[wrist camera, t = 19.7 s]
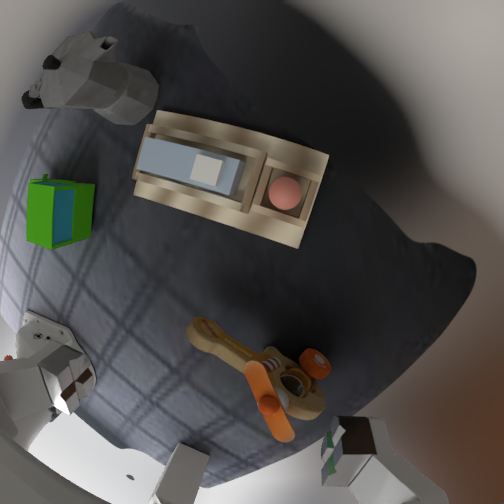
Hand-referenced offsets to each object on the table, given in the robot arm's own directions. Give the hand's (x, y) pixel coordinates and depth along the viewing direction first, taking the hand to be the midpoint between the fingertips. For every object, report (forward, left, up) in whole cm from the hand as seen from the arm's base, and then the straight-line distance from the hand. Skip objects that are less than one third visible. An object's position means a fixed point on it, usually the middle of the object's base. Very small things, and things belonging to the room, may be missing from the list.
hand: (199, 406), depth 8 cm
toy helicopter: (+5, -15, -29) cm, 33 cm away
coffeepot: (-26, +13, -29) cm, 41 cm away
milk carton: (-1, -50, -29) cm, 58 cm away
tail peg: (0, +6, -28) cm, 29 cm away
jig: (-8, +6, -29) cm, 31 cm away
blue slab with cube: (-12, +6, -28) cm, 31 cm away
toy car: (-33, -5, -29) cm, 44 cm away
